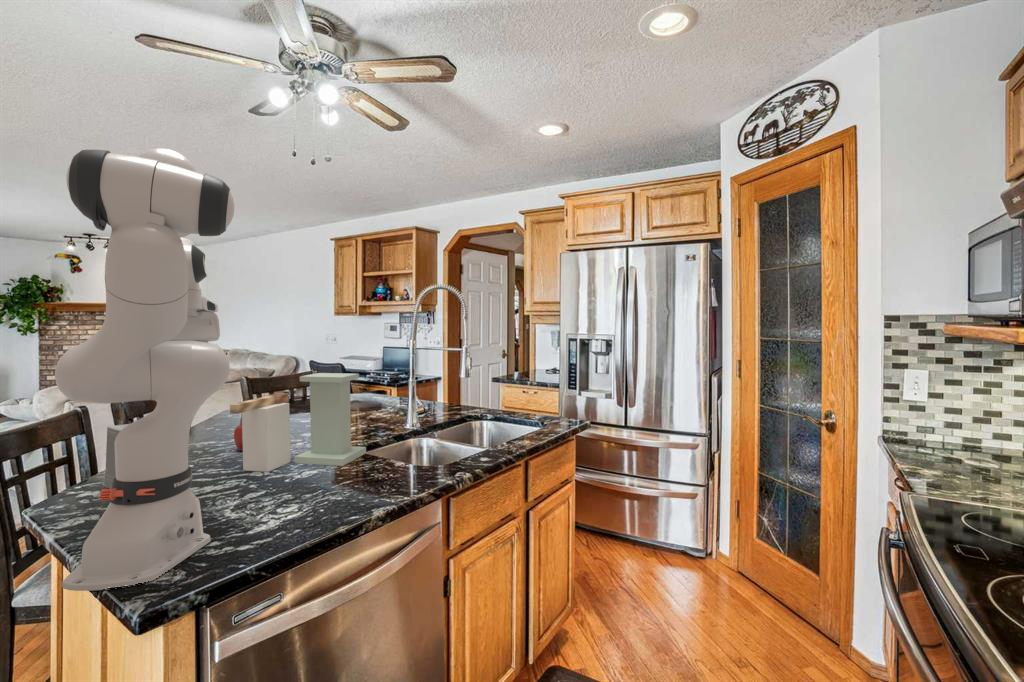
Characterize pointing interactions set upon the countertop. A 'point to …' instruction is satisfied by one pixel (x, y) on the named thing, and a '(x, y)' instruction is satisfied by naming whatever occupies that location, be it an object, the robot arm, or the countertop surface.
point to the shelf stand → (330, 420)
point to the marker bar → (258, 403)
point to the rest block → (266, 438)
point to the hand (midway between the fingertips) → (186, 359)
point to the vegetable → (238, 437)
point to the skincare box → (111, 453)
